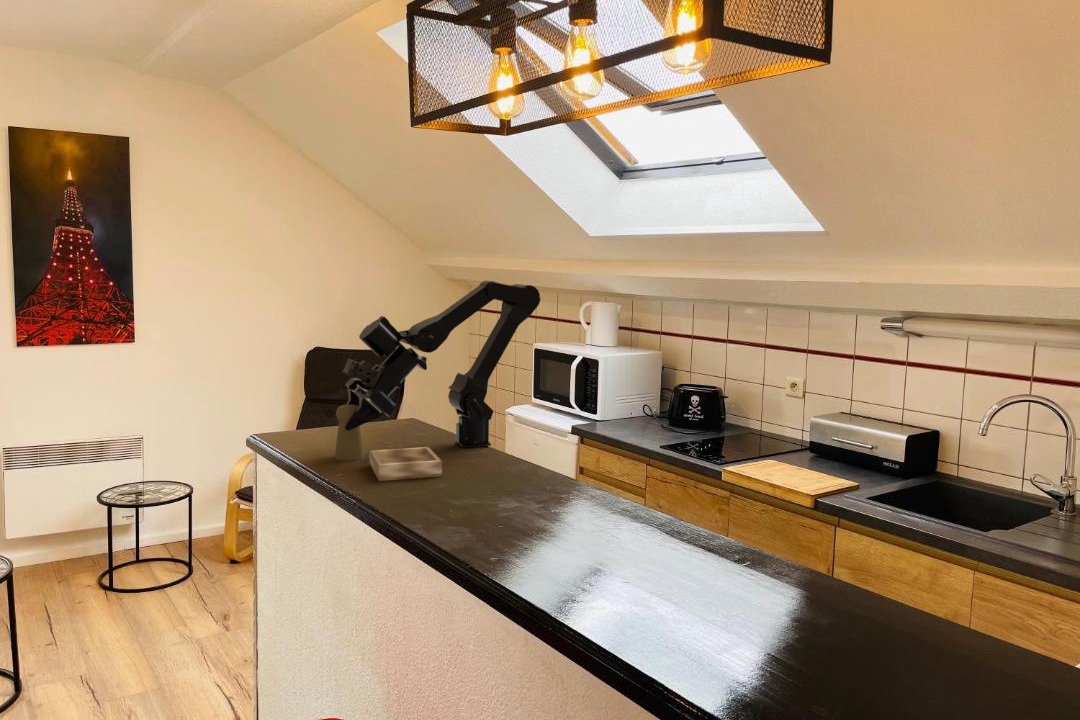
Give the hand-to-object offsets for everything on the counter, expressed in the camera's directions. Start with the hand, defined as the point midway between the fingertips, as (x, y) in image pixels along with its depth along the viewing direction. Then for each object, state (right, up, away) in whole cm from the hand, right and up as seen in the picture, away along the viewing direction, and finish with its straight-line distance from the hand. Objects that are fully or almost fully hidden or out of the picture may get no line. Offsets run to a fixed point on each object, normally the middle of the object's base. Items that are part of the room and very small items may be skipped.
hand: (342, 426), depth 174 cm
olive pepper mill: (+1, -7, +2) cm, 7 cm away
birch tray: (+14, -8, -8) cm, 18 cm away
